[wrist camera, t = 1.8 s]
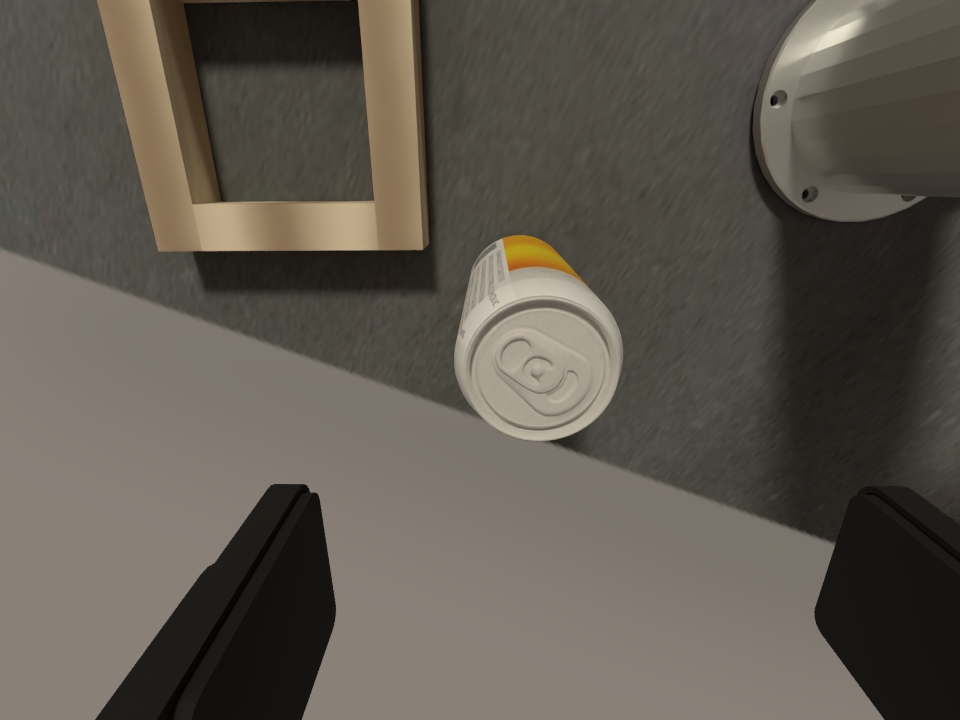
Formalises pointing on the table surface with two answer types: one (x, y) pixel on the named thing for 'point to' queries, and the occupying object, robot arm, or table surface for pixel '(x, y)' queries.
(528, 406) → the beer can
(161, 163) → the can holder
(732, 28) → the table surface
